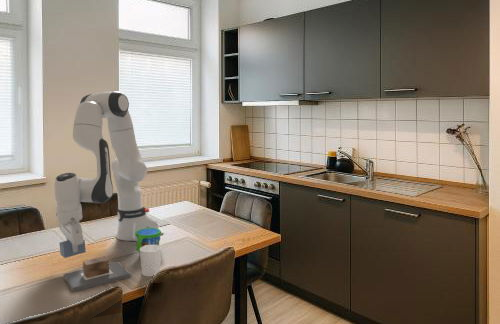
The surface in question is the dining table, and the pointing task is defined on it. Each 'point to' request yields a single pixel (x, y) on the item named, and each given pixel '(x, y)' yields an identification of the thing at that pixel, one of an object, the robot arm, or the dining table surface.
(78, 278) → the baseplate
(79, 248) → the blue brick
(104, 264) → the walnut brick
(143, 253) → the white cup
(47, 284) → the dining table surface
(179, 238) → the dining table surface
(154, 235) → the snack cup
